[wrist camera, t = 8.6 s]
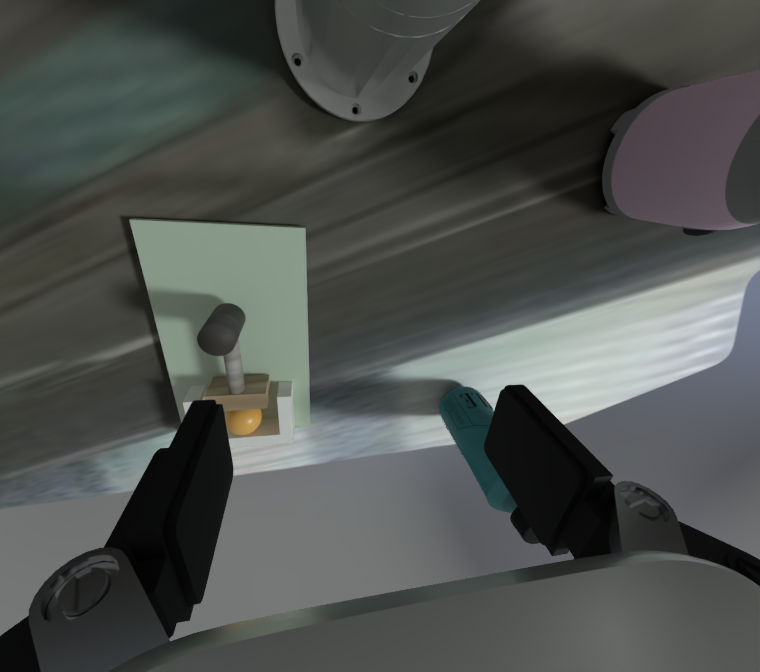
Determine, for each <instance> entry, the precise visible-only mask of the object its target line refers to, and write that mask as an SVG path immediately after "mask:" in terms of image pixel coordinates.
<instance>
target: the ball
mask: <svg viewBox="0 0 760 672" xmlns="http://www.w3.org/2000/svg"><path fill="white" fill-rule="evenodd" d="M261 420H262V412H261V409H249V410H233V411H226V413H225V421H226V427H227V429H228V430H229V431H230V432H232V433H234V434H236V435H247V434H250V433H252V432H253V431H254V430H256V429H257V428H258V426H259V425H260V423H261Z"/></svg>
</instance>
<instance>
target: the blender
mask: <svg viewBox="0 0 760 672" xmlns="http://www.w3.org/2000/svg"><path fill="white" fill-rule="evenodd" d="M610 131H611V132H612V133H613V134H615V136H614V138H613V140H612V142H611V144H610V147H609V149H608V152H607V155H606V158H605V162H604V167H603V173H602V188H603V193H604V197H605V200H606V202H607V205H606V206H605V209H606V210H607V211H608V212H610V213H612V214H614V215H618V216H621V217H624V218H629V219H636V220H645V221H651V222H657V223H663V224H669V225H675V226H681V227H683V232H684V233H685V234H687V235H692V236H701V235H707V234H711V233H714V232H716V231H718V230H728V229H735V228H742V227H747V226H751V225H755V224H759V223H760V70H759V71H754V72H750V73H745V74H740V75H736V76H732V77H727V78H723V79H718V80H714V81H710V82H706V83H701V84H697V85H693V86H681V87H676V88H672V89H667V90H664V91H661V92H658V93H656V94H654V95H652V96H651V97H649V98H648V99H646V100H645V101H643V102H642V103H641V104H640V105H639V106H637V107H636V108H635V109H632V110H629V111H627V112H625V113H624V114H622V115H621V116H620V118H619V119H618V120H617V121H616V123H615V124H614V125H613V127H612V128H611V130H610Z"/></svg>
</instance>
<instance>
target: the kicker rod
mask: <svg viewBox="0 0 760 672" xmlns="http://www.w3.org/2000/svg"><path fill="white" fill-rule="evenodd" d="M245 320H246V318H245V314H244V312H243V310H242V309H241V308H240V307H238V306H237V305H234V304H231V303H224V304H220V305H218V306H217V307H216V308H215V309H214V311H213V312H212V314H211V315H210V317H209V318H208V319H207V321H206V322H205V324H204V325H203V327H202V328H201V330H200V331H199V333H198V335H197V342H198V345H199V347H200V348H201V349H202V350H203V351H204V352H206V353H207V354H210V355H213V356H223V358H224V364H225V370H226V377H213V379H212V381H211V383H210V385H209V387H208V389H207V391H206V394H205V396H204V399H205V400H213V399H214V400H215V401H216V404H222V405H223V409H224V411H233V410H249V409H265V408H267V406H268V401H269V395H270V389H271V388H270V377H269V375H250V376H243V369H242V361H241V354H240V346H239V339H238V338H239V335H240V333H241V331H242V328H243V326H244V323H245Z"/></svg>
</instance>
